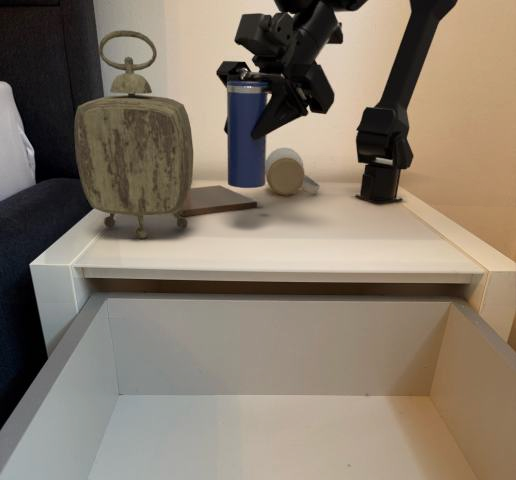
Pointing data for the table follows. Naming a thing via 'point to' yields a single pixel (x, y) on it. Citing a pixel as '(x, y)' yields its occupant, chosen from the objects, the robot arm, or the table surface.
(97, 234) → the table surface
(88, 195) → the tabletop clock
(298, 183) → the ceramic mug
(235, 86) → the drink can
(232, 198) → the desk pad
